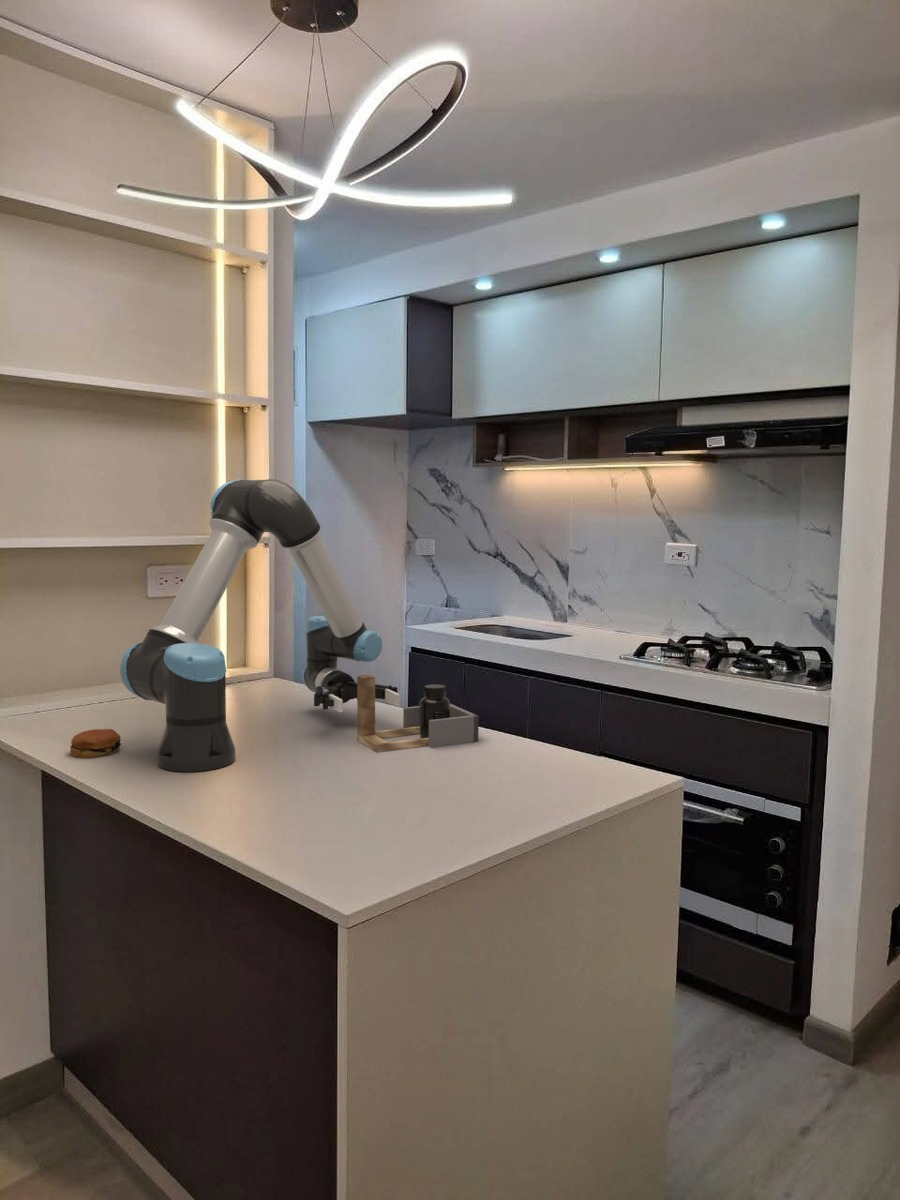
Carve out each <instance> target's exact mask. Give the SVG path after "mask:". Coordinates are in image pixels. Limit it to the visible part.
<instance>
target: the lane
mask: <svg viewBox="0 0 900 1200" xmlns="http://www.w3.org/2000/svg"><path fill="white" fill-rule="evenodd" d="M402 712H403V713H402V714H403V719H402V720H403V724H402V725H403V726H402V728H408V727H417V726H420V705H415V706H409V707H408V706H407V707H403V711H402ZM479 717H480V716H479V715H477V714H475V713H473V712H470V711H468V710H466V709H465V708H464V709H463V708H461V707H459V706H457V705H455V704H452V703H450V718H443V719H434V720H429V746H428V747H429V748H431V749H432V748H433V749H434V748H440V747H441V748H442V747H448V746H457V745H464V744H472V743H479V722H480V721H479V719H480V718H479Z"/></svg>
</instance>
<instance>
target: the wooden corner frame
mask: <svg viewBox="0 0 900 1200" xmlns="http://www.w3.org/2000/svg"><path fill="white" fill-rule="evenodd" d="M356 678H357V679H356V680H357V681H356V683H357V699H356V700H357V701H356V703H357V704H356V707H357V710H356V711H357V712H356V714H357V716H356V718H357V719H356V721H357V722H356V724H357V725H356V728H357V729H356V733H357V734H356V738H357V741H358V742H360V743H362V744H363V745H364V746H365V747H366V746H367V747H368V748H369V749H371V750H372V751H374V752H375V753H381V752H390V751H396V750H398V751H399V750H406V749H412V748H419V747H420V748H421V747H429V738H413V739H406V740H398V741H391V742H389V741H388V742H387V740H384V739H385V738H386V739H387V738H395V737H403V736H404V737H406V736H411V735H420V726H417V727H408V728H403V727H401V728H400V727H399V728H393V729H384V730H376V698H375V684H376V676H373V675H372V674H363V675H362V674H361V675H357V676H356Z"/></svg>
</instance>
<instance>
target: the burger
mask: <svg viewBox="0 0 900 1200" xmlns="http://www.w3.org/2000/svg"><path fill="white" fill-rule="evenodd" d="M121 737H122V736H121V735H120V734H119V733H118V732H116V731H115V730H114V729H112V728H99V729H98V728H97V729H95V728H94V729H89V730H83V731H81V732H79V733H77V734H76V735H73V737H72V739H71V742H70V743H71V745H70V746H69V747H70V755H72V756H73V757H76V758H80V759H95V758H99V757H103V756H107V755H111V754H114V753H115V752H117V751H118V750H120V747H121V746H122V742H121V741H122V740H121Z"/></svg>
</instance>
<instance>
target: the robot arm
mask: <svg viewBox="0 0 900 1200" xmlns="http://www.w3.org/2000/svg"><path fill="white" fill-rule="evenodd" d="M210 509H211V512H210V514H211V518H210V520H209V521H208V523H209V524H208V525H209V527H210V530H211V533H210V534H209V536H208V538H207V539H206V542H205V543H204V545H203V547H202V548H201V550H200V552H199V554H198V556H197V558H196V560H195V561H194V563H193V565H192V566H191V568H190V570H189V572H188V574H187V576H186V578H185V580H184V581H183V583H182V585H181V587H180V589H179V591H178V592H177V594H176V596H175V598H174V600H173V601H172V603H171V605H170V607H169V609H168V610H167V613H166V615H165V616H164V618H163V619H162V621H161V623H160V624H159V625H156V626H153V627H150V628H149V629H148V632H147V633H146V635H145V637H144V638H143V640H142V641H140V642H138V643H135V644H133V645H132V646H130V647H129V648H128V649H127V650H126V651H125V653H124V655H123V657H122V659H121V662H120V668H119V669H120V676H121V680H122V683H123V685H124V686H125V688H126V689H127V690H128V691H129V692H130V693H132V694H133V695H134V696H137V697H139V698H142V699H143V700H144V701H145V700H146V701H153V702H157V703H160V704H164V705H165V721H166V722H165V728H164V732H163V735H162V738H161V742H160V744H159V748H158V752H157V765H158V767H160V768H161V769H164V770H168V771H174V772H186V773H187V772H202V771H203V772H206V771H211V770H215V769H220V768H223V767H227V766H229V765H231V764H233V763H234V762H235V761H236V747H235V744H234V741H233V738H232V735H231V733H230V729H229V727H228V725H227V707H226V705H227V703H226V702H227V697H226V696H227V695H226V692H227V691H226V688H227V687H226V679H227V677H226V674H227V667H226V661H225V660H226V659H225V655H224V653H223V652H222V650H221V649H220V648H217V647H216V646H213V645H210V644H205V643H201V644H200V643H199V641H200V639H201V638H202V636H203V633H204V632H205V630H206V627H207V626H208V624H209V622H210V620H211V618H212V616H213V615H214V612H215V611H216V609H217V607H218V605H219V603H220V602H221V600H222V597H223V595H224V594H225V593H226V590H227V588H228V586H229V585H230V582H231V580H232V579H233V577H234V575H235V573H236V571H237V569H238V567H239V566H240V563H242V560H243V559H244V556H245V554H246V552H247V551H248V550H252V549H254V548H257V546H258V544H259V542H260V541H261V538H262V537H263V535H264V533H270V534H271V535H273V536H274V537H275V538H276V539H277V541H278V542H279V544H280V546H281V548H283V549H287V550H289V552H290V554H291V556H292V558H293V560H294V562H295V564H296V566H297V567H298V569H299V570H298V571H300V574H301V575H302V577H303V579H304V581H305V583H306V584H307V586H308V589H309V591H310V592H311V594H312V596H313V598H314V600H315V601H316V604H317V605H318V607H319V609H320V611H321V613H322V615H314V616H310V617H309V618H308V619H307V621H306V632H305V635H306V665H305V666H304V667H303V669H302V672H301V679H302V683H303V684H304V686H305V687H307V688H308V689H309V690H310V691H311V692H313V693H314V694H313V706H314V707H320V705H321V704H322V710H328V709H329V708H331V709H333V710H334V711H336V712H338V713H343V704H346V703H348V702H349V701H350V700H354V699H356V700H357V681H355V679H354V678H353V677H352V676H351V675H350V674H349V673H346V672H344V671H342V670H340V669H338V658H341V659H344V660H345V659H346V660H351V661H356V662H359V663H360V662H366V663H370V662H374V661H375V660H377V659H378V657H379V656H380V655H381V652H382V649H383V640H382V637H381V636H380V634H379V633H378V632H377V631H374V630H372V629H367V627H366V625H365V623H364V621H363V619H362V616H361V615H360V612H359V611H358V609H357V607H356V605H355V603H354V601H353V599H352V597H351V595H350V593H349V591H348V589H347V587H346V585H345V582H344V581H343V579H342V577H341V575H340V573H339V571H338V569H337V567H336V565H335V563H334V561H333V559H332V557H331V555H330V553H329V551H328V549H327V547H326V545H325V543H324V541H323V539H322V537H321V535H320V532H321V530H322V528H321V525H320V523H319V521H318V520H317V518H316V515H315V513H314V512H313V510H312V509H311V507H310V506H309V504H308V503H307V502H306V500H305V499H304V498H303V497H302V496H301V494H300V493H299V492H298V491H297V490H296V489H295V488H293V487H292V486H291V485H289V483H286V482H285V481H281V480H279V479H274V478H273V479H271V478H270V479H269V478H268V479H244V478H243V479H241V478H240V479H236V480H231V481H228V482H225V483H224V484H222V485H220V486H219V487H218V488H217V489H216V490H215V492H214V493H213V496H212V498H211V500H210ZM398 691H399V690H398V686H397V687H396V686H392V685H383V684H378V683H375V700H376V699H378V700H384V701H385V702H387V703H389V704H390V705H393V706H395V707H398V708H399V707H400V706H401V694H400V693H398Z"/></svg>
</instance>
